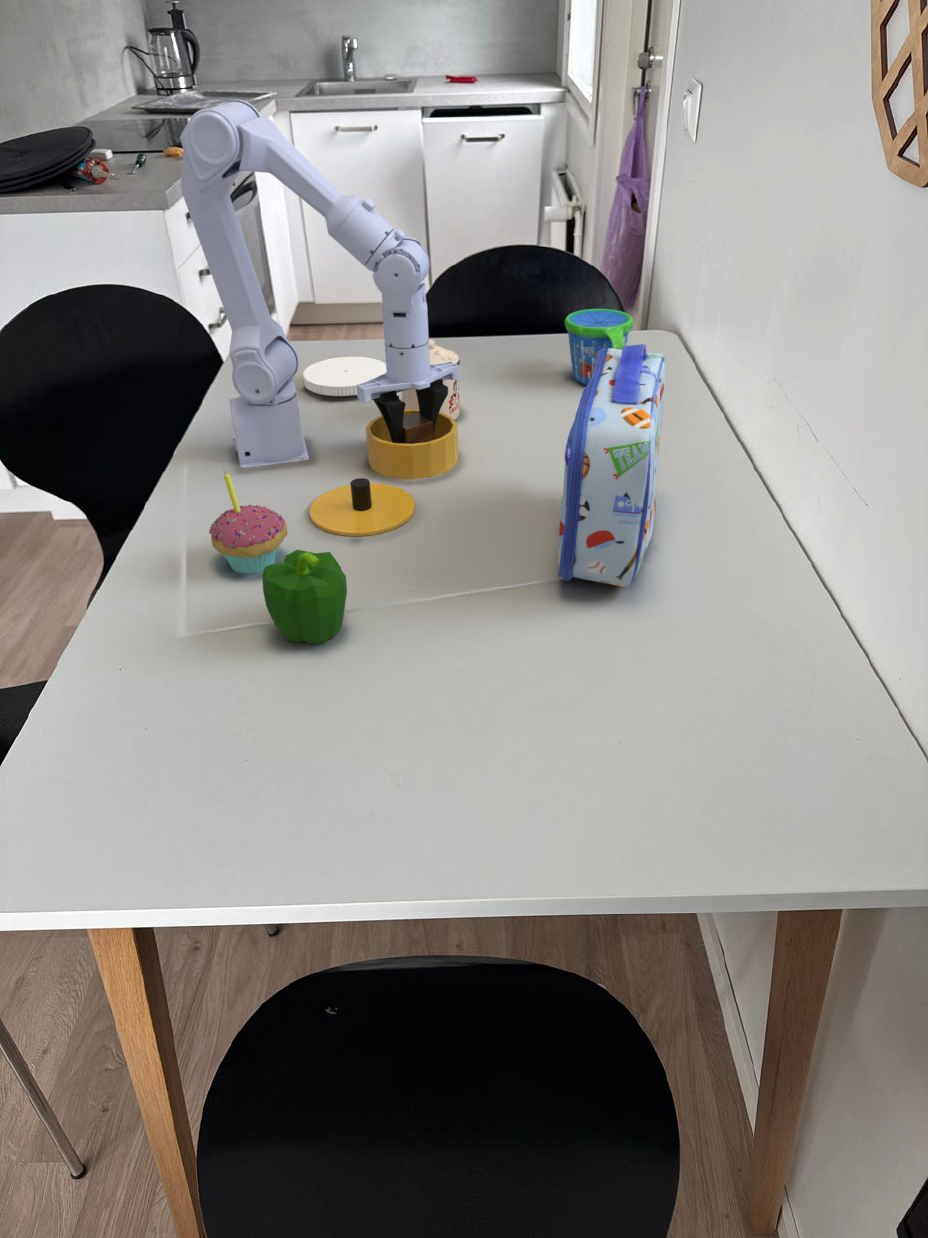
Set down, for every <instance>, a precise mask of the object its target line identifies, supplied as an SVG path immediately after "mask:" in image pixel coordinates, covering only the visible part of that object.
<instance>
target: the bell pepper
mask: <svg viewBox="0 0 928 1238" xmlns="http://www.w3.org/2000/svg"><path fill="white" fill-rule="evenodd" d="M261 578H262V579H261V581H262V592H263V597H264V603H265V606H266V609H267V611H268V614H269V616H270V618H271V620H272V622H273V624H274V626H275V627H276V629H277V631H278V632H279V633H280V634H281V635H282V636H283V637H285V639H286V640H287V641H289V642H291V643H302V642H306V643H308V644H319V645H320V644H322V643H325V642H327V641H331V640H332V639H333V638H334V637H336V636H337V635H338V634H339V632H340V630H341V629H342V626H343V621H344V616H345V608H346V601H347V595H348V587H347V586H348V585H347V575H346V574H345V573H344V571H343V570H342V567H341V565H340V564H339V562H338V561H337V560H336V558H335V557H334V555H333V554H332V552H330V551H324V552H311V551H306V550H301V549H296V550H294V551H292V552H290V553H288V554H286V555H285V556H284V559H283V562H274V563H273V564H271V565H268V566H265V569H264V571H262V575H261Z"/></svg>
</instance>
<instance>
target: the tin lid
mask: <svg viewBox="0 0 928 1238" xmlns="http://www.w3.org/2000/svg"><path fill="white" fill-rule="evenodd" d="M415 511H416V502H415V500H414V498H413V496H412V495H411V494H410V493H409V492H407V491H406V490H404V489H402V488H399V487H397V486H394V485H389V484H384V483H375V482H374V483H373V482H371V480H369V479H368V478H365V477H364V478H363V477H358V478H354V479H352V480H351V481H350V484H347V485H342V486H339V487H336V488H333V489H331V490H328V491H326V492H324V493H322V494H320V495H319V496H317V498H316V499H315V500H313V502H312V503H311V504H310V507H309V518H310V521H311V522H312V523H313V525H315V526H316V527H317V528H318V529H320V530H322V531H324V532H327V533H329V534H334V535H338V536H345V537H365V536H366V537H367V536H373V535H374V536H375V535H379V534H383V533H387V532H391V531H393V530H395V529H398V528H400V527H401V526H403V525H404V524H406V523H407V522H409V521H410V520H411V518H412V517H413V516H414V514H415Z"/></svg>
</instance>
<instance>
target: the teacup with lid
mask: <svg viewBox="0 0 928 1238" xmlns="http://www.w3.org/2000/svg"><path fill="white" fill-rule="evenodd" d="M429 358H430V364H439V363H445V362H450V361H451V362H453V363H455V364H457V365H459V366H460V363H461V361H460V357H459V356H458V354H457V353H456V352H454V350H453V351H452V350H450V349H447V348H443V347H441V346H439V345H437V344H436V342H435V340H434V339H431V338H429ZM443 384H444V385H445V386H447V387H448V395H447V397H446V399H445V400H444V402H443V404H442V406H441V409H440V411H439V412H441V413H444V414H446V415H448V416H450V417H452V418H453V419H454V420H455V421H456V420H457V419H458V418H459V416H460V413H461V411H460V378H459V379H457V380H451V379H448V380H445V381H443ZM401 401H403V402H404V403H406V405H405V410H409V409H419V404H418V398H417V394H416V390H415V388H414V389H410V390H406V391H402V392H401Z"/></svg>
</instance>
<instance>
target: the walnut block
mask: <svg viewBox="0 0 928 1238" xmlns="http://www.w3.org/2000/svg"><path fill="white" fill-rule="evenodd" d="M403 431H404V443H403V444H415V443H423V442H429V441H432V440H434V437H433V422H432V421H430V420H429V419H427V418H425V417H424V416H422V415H421V414H419V413H417V412H416V413H412V414H409V415H405V416H404V417H403Z"/></svg>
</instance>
